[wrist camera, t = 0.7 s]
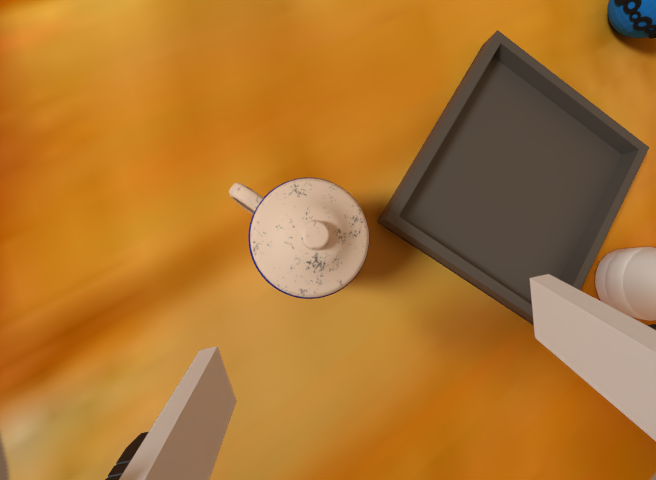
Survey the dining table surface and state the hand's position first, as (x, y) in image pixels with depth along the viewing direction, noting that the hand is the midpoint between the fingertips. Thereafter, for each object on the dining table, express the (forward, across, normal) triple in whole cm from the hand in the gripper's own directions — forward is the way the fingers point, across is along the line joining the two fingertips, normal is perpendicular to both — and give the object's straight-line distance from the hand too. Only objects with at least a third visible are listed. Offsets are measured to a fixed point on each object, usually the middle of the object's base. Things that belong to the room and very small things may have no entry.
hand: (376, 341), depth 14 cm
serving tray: (+26, -19, 0) cm, 32 cm away
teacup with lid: (+20, +6, -1) cm, 21 cm away
